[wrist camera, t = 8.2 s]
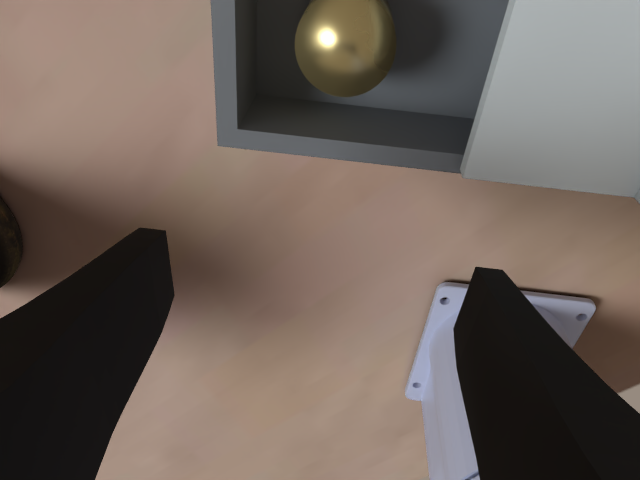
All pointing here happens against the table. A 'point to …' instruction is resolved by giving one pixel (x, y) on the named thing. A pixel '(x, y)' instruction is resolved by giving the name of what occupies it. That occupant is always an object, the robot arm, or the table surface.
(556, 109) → the lid
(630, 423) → the robot arm
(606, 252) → the table surface
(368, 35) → the brass knob
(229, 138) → the tub
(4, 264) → the container
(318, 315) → the table surface
